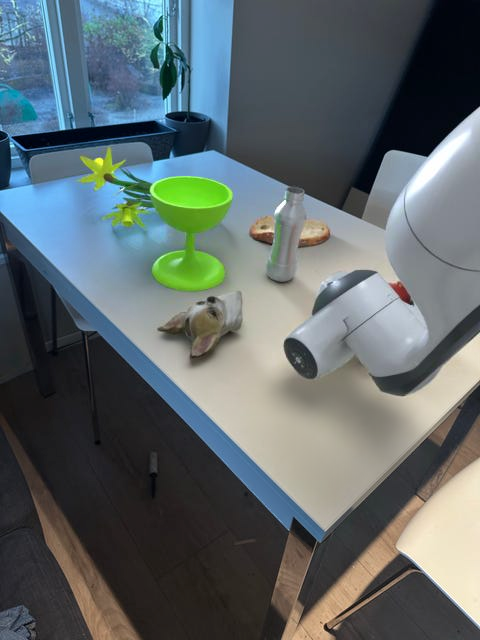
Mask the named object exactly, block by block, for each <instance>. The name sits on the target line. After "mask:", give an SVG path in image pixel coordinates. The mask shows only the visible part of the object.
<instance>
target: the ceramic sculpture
mask: <svg viewBox="0 0 480 640" xmlns="http://www.w3.org/2000/svg"><path fill="white" fill-rule="evenodd" d="M243 322H244V319H243V294H242V291H241V290H238V291H234V292H226V293H224V294H222V295H220V296H214V295H209V296H206V298H205V299H204V300H201V301H200V300H199V301H197V302H195V304H193V305H190V306H189V307H188V308H187V309H186V311H181V312H180V313H178V314H176V315H174V316H173V317H172V318H171V319H170V320H168V322H166V324H164V325H162V326H159V327H157V328H156V329H157V331H158V332H161V333H166V334H171V335H179V334H181V333H183V332H185V335H186V336H187V338H188V339H190V340H191V341H192V344H191V346H190V353H189V356H188V359H189V360H195V359H200V358H203V357H205V356H207V355H209V354H210V353H211V352H212V351H213V350H214V349H215V347H217V345H218V343H219V341H220V339H221V337H223V336H225V334H227V333H228V332H232V333H236V332H238V331H239V330H240V329H241V328H242V326H243Z"/></svg>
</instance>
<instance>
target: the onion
mask: <svg viewBox="0 0 480 640" xmlns="http://www.w3.org/2000/svg"><path fill="white" fill-rule="evenodd" d="M390 286H391V287H392V289H393V290H394V291H395V292H396V293H397V295H398V296H399V298H400V299H401V300H402V301H403V302H405V303H407V304H409V300H410V299H411V296H410V295H409V293H408V292H407V290H406V289H405V287H404V286H403V284H402V283H401V281H400V280H398V281H396V282H394V283H392V284H390Z"/></svg>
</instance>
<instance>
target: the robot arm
mask: <svg viewBox="0 0 480 640" xmlns="http://www.w3.org/2000/svg"><path fill="white" fill-rule="evenodd" d="M384 233H385V234H384V247H385V253H386V256H387V259H388V262H389V265H390V266H391V268H392V270H393V272H394V274H395V275H396V277H397V278H398V281H401V283H402V284H403V286H404V287H405V289H406V290H407V292H408V293H409V295H410V296H411V299H410V300H409V304H407V303H405V302H403V301H402V300H401V299H400V298H399V296H398V295H397V293H396V292H395V291H394V290H393V289H392V287H391V286H390V285H389V284H388V283H389V282H388V281H386V279H385V278H384V277H383V276H382V275H381V274H380V273H379V272H378V271H376V270H372V269H354V270H353V271H351V272H348V271H345V270H344V271H343V270H338V271H336V272H334V273H333V274H331V275H330V276H328V277H327V278H326V279H325V280H323V281H322V282H321V284H320V286H319V289H318V291H317V294H316V298H315V301H314V303H313V307H312V311H311V316H310V317H309V318H308V319H306V320H305V321H303V322H302V323H301V324H299V325H298V326H297V327H296V328H295V329H294V330H292V331H291V332H290V333H289V334H288V335H287V336H286V337H285V338H284V341H283V352H284V356H285V357H286V360H287V361H288V363H289V364H290V366H291V367H292V368H293V369H294V371H295V372H296V373H297V374H298V375H300V377H302V378H304V379H306V380H309V381H310V380H311V381H315V380H318V379H320V378H322V377H324V376H326V375H328V374H330V373H333V372H335V371H336V370H338V369H339V368H341V367H342V366H344V365H345V364H347V363H348V362H349V361H351V360H352V359H353V358H354V357H356V358H357V359H358V361H359V362H360V363H361V364H362V366H363V367H364V368H365V369H366V371H367V372H368V375H369V376H370V378H371V379H372V380H373V382H374V384H375V385H376V387H377V388H378V390H379V391H380V392H382V393H385V394H389V395H391V396H397V397H404V396H409V395H412V394H415V393H417V392H419V391H420V390H422V389H424V388H426V386H428V385H429V384H430V383H431V382H433V381H434V379H435V378H436V377H437V376H438V375H439V373H440V372H441V370H442V368H443V366H444V365H446V364H447V363H448V362H449V361H450V360H451V359H452V358H454V356H456V355H457V354H458V353H459V352H460V351H461V350H462V349H463V348H465V346H467V345H468V344H469V343H470V342H471V341H472V340H473V339H475V338H476V337H477V336H478V335H479V334H480V106H479V107H477V108H476V109H475V110H474V111H473V112H471V114H469V115H468V116H467V117H466V118H464V119H463V121H461V122H460V123H459V124H458V125H457V126H456V127H455V128H453V130H452V131H451V132H450V133H448V135H447V136H446V137H444V139H443V140H442V141H440V143H439V144H438V145H437V146H436V147H435V148H434V149H433V151H432V152H431V153H430V154H429V155H428V156H427V158H426V159H425V160H424V161H423V162H422V164H421V165H419V167H418V169H416V171H415V173H414V174H413V175H412V176H411V178H410V179H409V180H408V182H407V183H406V185H404V187H403V189H402V190H401V192H400V193H399V195H398V197H397V198H396V200H395V201H394V203H393V206H392V207H391V210H390V212H389V215H388V218H387V222H386V227H385V231H384Z"/></svg>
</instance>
